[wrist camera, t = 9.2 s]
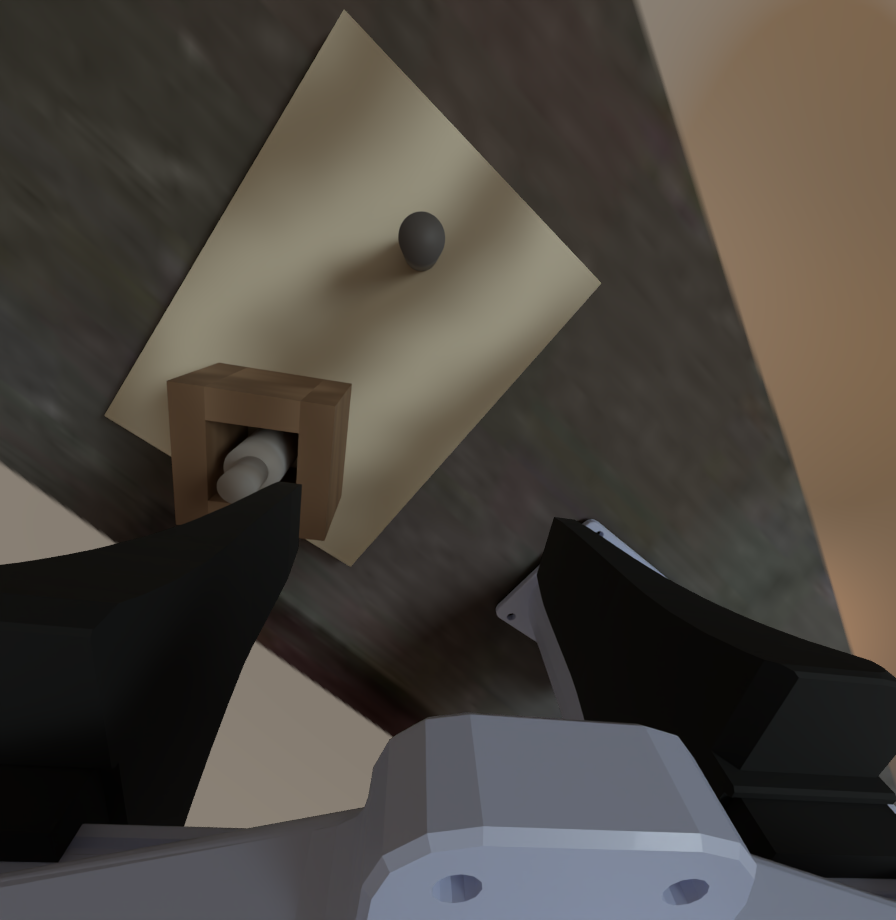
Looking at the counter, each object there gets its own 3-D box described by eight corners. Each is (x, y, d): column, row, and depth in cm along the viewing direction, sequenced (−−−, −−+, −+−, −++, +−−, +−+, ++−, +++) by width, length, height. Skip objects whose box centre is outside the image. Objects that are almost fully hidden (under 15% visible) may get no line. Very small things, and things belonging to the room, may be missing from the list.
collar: (351, 383, 19) (335, 406, 15) (341, 496, 21) (324, 541, 17) (218, 362, 18) (166, 380, 14) (221, 481, 20) (175, 524, 16)
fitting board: (592, 283, 19) (675, 279, 13) (353, 555, 23) (329, 649, 17) (348, 27, 15) (301, -154, 9) (119, 409, 19) (-17, 462, 13)
